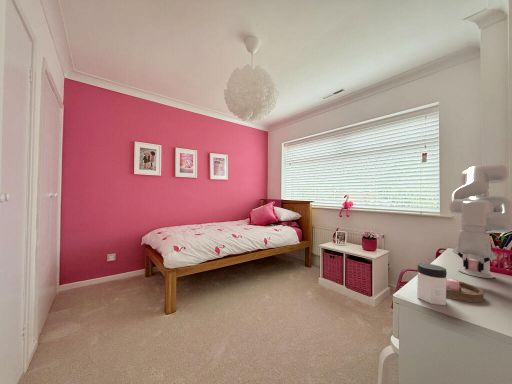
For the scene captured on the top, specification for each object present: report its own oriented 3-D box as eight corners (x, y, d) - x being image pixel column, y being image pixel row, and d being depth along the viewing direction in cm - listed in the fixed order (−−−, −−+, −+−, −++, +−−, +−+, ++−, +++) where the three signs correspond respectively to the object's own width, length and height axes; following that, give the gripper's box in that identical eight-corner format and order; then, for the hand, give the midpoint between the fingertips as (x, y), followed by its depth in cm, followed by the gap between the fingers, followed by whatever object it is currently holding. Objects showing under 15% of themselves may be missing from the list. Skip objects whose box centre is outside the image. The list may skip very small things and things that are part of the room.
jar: (424, 303, 73) (425, 269, 73) (411, 293, 81) (411, 262, 81) (453, 306, 72) (454, 271, 72) (436, 295, 80) (437, 264, 80)
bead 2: (467, 268, 95) (467, 258, 95) (479, 270, 92) (479, 260, 92) (467, 270, 92) (467, 260, 92) (478, 272, 90) (478, 262, 90)
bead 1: (447, 289, 82) (447, 278, 83) (459, 292, 80) (459, 281, 80) (445, 292, 80) (445, 280, 80) (458, 295, 77) (458, 283, 77)
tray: (433, 281, 94) (433, 274, 94) (484, 294, 82) (484, 287, 82) (424, 290, 84) (424, 283, 84) (481, 307, 72) (481, 298, 72)
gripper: (502, 230, 88) (502, 273, 88) (449, 225, 100) (449, 262, 101) (502, 233, 83) (502, 278, 83) (446, 227, 96) (446, 267, 96)
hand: (473, 269), depth 92 cm, fingers closed on bead 2, 3 cm apart
